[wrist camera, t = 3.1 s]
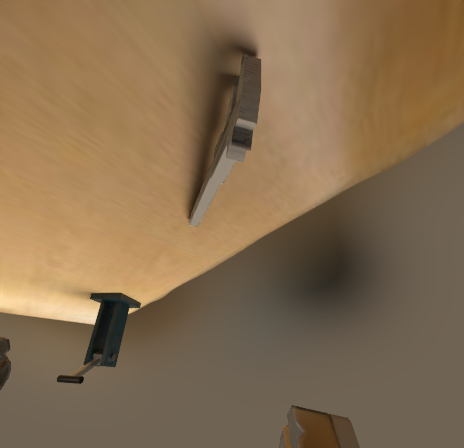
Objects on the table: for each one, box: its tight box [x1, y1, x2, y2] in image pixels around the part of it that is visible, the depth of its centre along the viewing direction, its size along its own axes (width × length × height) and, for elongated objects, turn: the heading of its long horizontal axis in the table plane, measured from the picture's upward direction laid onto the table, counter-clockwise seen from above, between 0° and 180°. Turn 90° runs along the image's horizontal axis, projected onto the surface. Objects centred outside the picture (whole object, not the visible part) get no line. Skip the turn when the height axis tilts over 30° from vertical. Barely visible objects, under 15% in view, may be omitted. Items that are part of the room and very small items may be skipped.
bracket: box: [84, 293, 141, 367], centre depth 65 cm, size 9×8×15 cm
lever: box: [57, 349, 104, 384], centre depth 58 cm, size 11×5×2 cm, turn 14°
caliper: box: [189, 54, 261, 226], centre depth 23 cm, size 20×1×6 cm, turn 164°
